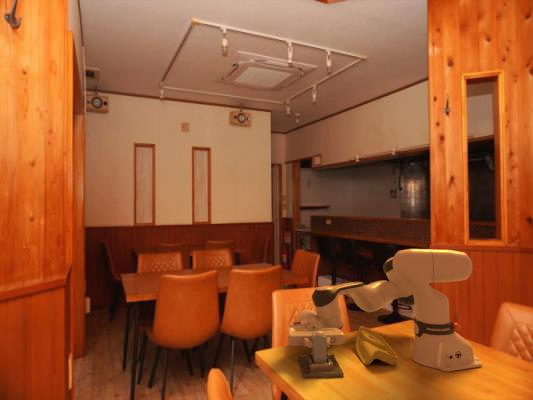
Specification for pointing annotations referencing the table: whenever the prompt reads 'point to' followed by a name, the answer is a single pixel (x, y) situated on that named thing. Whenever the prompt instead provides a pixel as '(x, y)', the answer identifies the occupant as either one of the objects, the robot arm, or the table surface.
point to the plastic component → (373, 347)
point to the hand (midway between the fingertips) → (319, 345)
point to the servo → (319, 347)
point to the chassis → (319, 367)
